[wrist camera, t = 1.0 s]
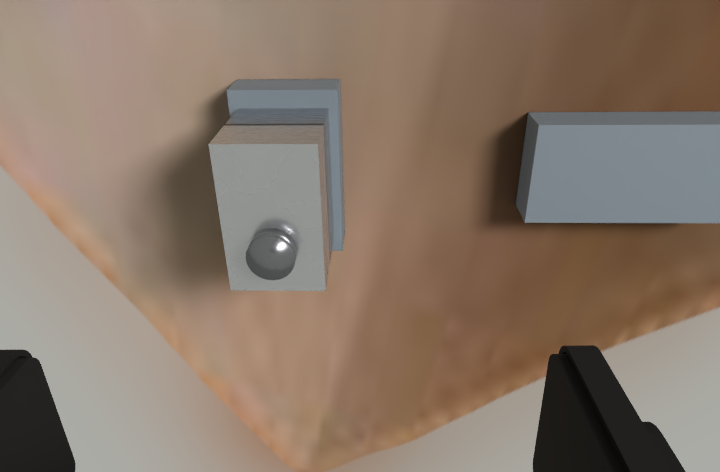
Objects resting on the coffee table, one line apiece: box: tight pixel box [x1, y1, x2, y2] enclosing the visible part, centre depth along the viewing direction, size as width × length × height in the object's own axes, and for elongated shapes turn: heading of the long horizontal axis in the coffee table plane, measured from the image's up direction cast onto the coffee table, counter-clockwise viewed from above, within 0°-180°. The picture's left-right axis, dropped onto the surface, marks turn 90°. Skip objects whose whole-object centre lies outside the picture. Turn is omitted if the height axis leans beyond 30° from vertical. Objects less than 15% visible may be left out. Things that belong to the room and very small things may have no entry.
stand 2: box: [516, 112, 720, 223], centre depth 32 cm, size 6×12×2 cm, turn 91°
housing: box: [208, 108, 334, 291], centre depth 29 cm, size 8×5×7 cm, turn 1°
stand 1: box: [226, 79, 345, 251], centre depth 33 cm, size 10×6×2 cm, turn 1°
